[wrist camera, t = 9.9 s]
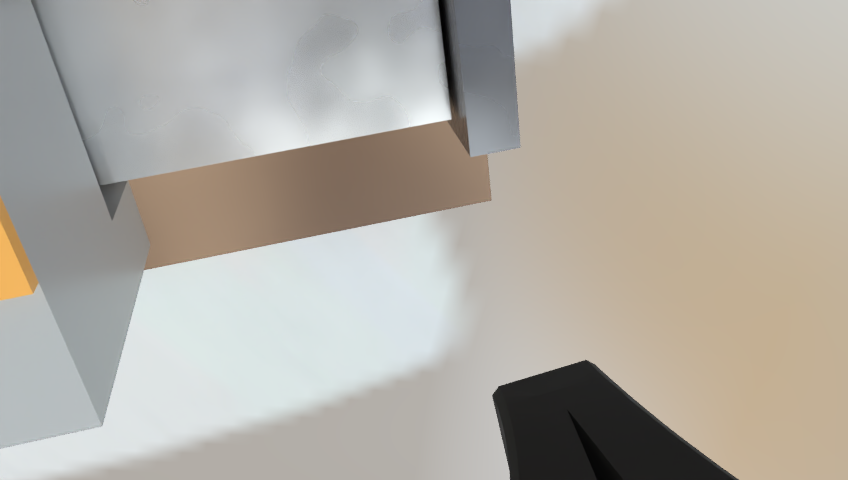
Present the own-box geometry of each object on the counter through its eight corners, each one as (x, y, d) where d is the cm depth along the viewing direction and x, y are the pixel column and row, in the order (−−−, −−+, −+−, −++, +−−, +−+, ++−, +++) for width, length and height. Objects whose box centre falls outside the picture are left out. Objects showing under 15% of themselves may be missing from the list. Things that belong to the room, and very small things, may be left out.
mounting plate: (438, -242, 15) (450, -247, 14) (480, 183, 19) (491, 200, 18) (-613, -96, 13) (-676, -92, 12) (-298, 337, 17) (-327, 364, 16)
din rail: (467, -108, 15) (503, -98, 13) (487, 107, 17) (520, 147, 15) (-571, 56, 13) (-737, 100, 11) (-402, 274, 15) (-513, 347, 13)
